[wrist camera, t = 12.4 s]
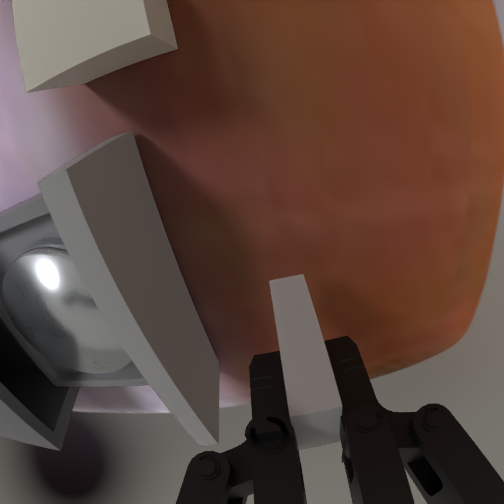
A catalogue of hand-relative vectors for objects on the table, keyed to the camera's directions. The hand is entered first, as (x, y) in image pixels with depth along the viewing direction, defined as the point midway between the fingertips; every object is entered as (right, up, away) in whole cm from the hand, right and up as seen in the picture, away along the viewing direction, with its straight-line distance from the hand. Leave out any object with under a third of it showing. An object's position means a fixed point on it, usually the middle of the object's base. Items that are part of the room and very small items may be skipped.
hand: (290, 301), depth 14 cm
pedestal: (-8, +13, -3) cm, 16 cm away
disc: (-12, -1, +2) cm, 13 cm away
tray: (-12, 0, +4) cm, 13 cm away
